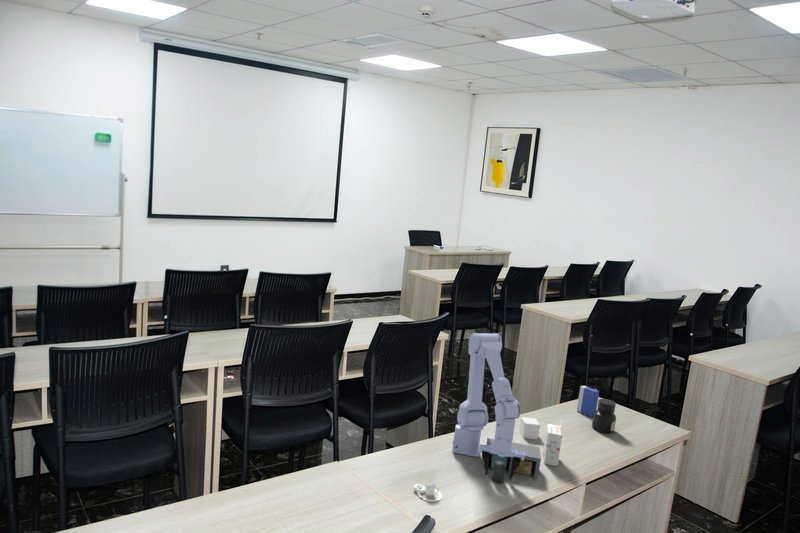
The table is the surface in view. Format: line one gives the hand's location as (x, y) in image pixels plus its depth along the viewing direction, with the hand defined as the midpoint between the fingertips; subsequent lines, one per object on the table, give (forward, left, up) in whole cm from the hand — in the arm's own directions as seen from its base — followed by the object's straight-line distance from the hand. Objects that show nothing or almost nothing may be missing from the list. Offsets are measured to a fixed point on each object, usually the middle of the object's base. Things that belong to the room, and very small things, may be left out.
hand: (498, 476), depth 190 cm
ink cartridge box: (+18, +23, -2) cm, 29 cm away
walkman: (+37, +77, -2) cm, 85 cm away
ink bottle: (+42, +62, -2) cm, 75 cm away
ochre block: (+8, +11, -2) cm, 14 cm away
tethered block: (0, +6, -2) cm, 6 cm away
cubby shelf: (+4, +11, -2) cm, 12 cm away
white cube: (+11, +42, -2) cm, 44 cm away
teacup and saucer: (-21, -14, -2) cm, 25 cm away
